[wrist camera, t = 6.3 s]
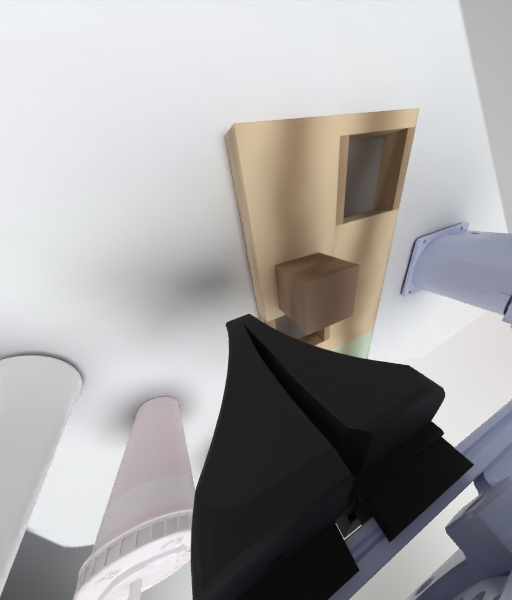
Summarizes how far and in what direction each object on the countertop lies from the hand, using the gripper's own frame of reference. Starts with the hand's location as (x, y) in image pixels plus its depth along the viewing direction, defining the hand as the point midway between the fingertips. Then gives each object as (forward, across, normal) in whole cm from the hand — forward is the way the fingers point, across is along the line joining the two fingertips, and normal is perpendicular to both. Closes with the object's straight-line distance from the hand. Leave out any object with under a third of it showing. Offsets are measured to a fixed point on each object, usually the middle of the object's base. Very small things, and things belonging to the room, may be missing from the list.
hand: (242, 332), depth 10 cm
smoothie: (+7, +9, +10) cm, 15 cm away
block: (+4, -6, +1) cm, 8 cm away
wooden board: (+6, -10, +4) cm, 13 cm away
